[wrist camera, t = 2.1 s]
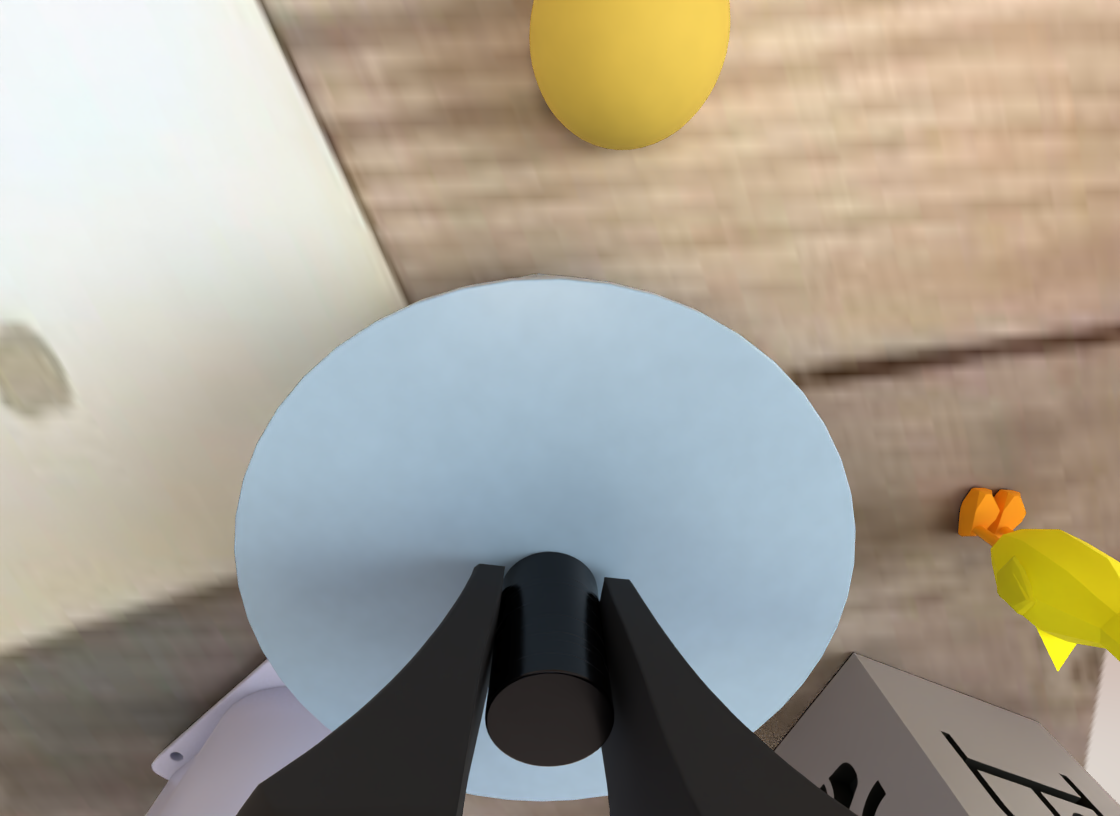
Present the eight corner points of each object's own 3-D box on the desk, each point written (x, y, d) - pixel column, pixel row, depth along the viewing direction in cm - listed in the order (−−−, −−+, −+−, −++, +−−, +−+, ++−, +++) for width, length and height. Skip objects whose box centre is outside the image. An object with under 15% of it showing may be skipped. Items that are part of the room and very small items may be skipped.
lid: (538, 832, 18) (535, 1036, 13) (137, 556, 14) (-57, 716, 9) (939, 571, 14) (1111, 727, 10) (566, 111, 10) (579, 32, 6)
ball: (607, 194, 16) (630, 184, 11) (497, 61, 14) (475, -7, 10) (731, 74, 15) (809, 12, 10) (625, -81, 13) (662, -223, 9)
